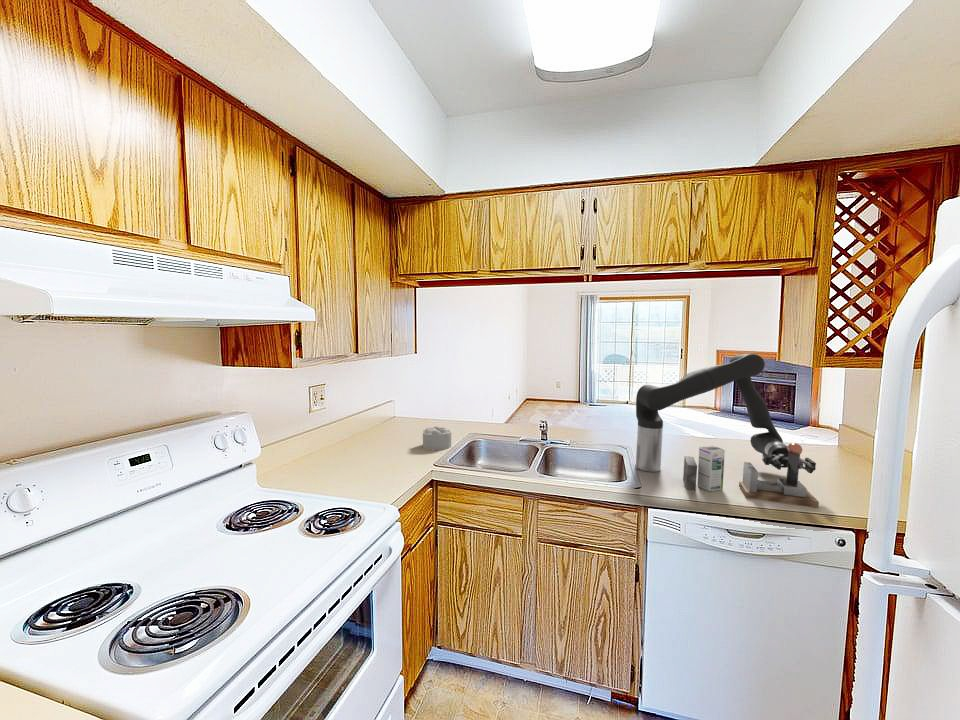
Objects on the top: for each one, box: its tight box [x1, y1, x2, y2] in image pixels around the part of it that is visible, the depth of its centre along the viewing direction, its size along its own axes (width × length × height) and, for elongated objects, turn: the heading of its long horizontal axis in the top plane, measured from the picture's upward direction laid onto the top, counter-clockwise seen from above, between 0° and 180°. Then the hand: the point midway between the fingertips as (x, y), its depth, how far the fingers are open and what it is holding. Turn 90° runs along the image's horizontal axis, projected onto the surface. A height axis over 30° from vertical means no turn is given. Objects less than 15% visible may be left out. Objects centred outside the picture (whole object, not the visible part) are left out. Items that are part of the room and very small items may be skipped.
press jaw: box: [742, 442, 808, 498], centre depth 140 cm, size 16×10×17 cm, turn 69°
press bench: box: [682, 455, 820, 509], centre depth 143 cm, size 38×10×9 cm, turn 69°
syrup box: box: [697, 445, 726, 492], centre depth 147 cm, size 6×6×14 cm
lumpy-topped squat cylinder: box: [422, 425, 452, 451], centre depth 192 cm, size 10×13×9 cm
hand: (795, 468), depth 136 cm, fingers open, 8 cm apart
